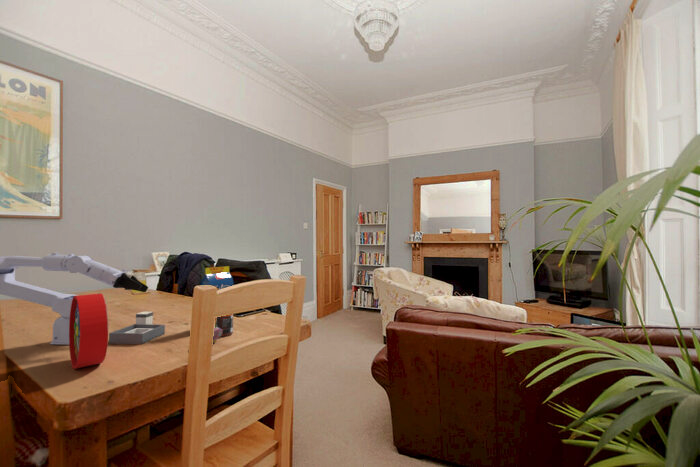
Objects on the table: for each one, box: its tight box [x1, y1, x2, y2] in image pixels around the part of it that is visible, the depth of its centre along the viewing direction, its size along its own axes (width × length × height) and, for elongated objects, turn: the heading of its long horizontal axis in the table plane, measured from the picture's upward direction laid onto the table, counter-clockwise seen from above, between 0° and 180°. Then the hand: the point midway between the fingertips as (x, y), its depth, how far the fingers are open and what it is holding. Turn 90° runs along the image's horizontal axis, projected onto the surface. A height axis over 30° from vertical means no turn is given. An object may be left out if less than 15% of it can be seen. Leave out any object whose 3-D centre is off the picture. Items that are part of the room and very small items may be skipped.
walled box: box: [108, 323, 166, 345], centre depth 113 cm, size 12×12×4 cm
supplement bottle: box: [216, 313, 234, 337], centre depth 119 cm, size 6×6×11 cm
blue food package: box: [200, 265, 235, 328], centre depth 130 cm, size 6×12×25 cm, turn 153°
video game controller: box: [213, 327, 223, 344], centre depth 107 cm, size 10×5×7 cm, turn 169°
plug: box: [135, 311, 154, 324], centre depth 124 cm, size 4×4×7 cm
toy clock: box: [68, 292, 109, 370], centre depth 89 cm, size 20×6×20 cm, turn 48°
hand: (143, 288), depth 114 cm, fingers open, 7 cm apart
